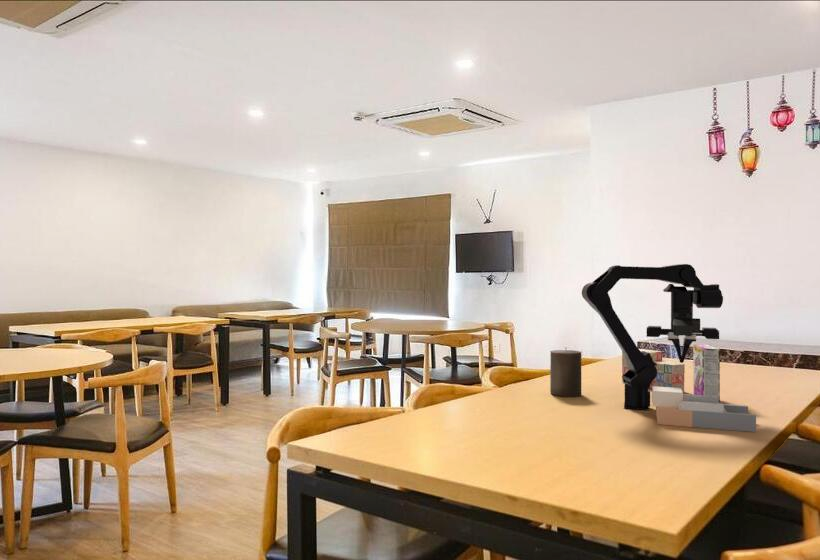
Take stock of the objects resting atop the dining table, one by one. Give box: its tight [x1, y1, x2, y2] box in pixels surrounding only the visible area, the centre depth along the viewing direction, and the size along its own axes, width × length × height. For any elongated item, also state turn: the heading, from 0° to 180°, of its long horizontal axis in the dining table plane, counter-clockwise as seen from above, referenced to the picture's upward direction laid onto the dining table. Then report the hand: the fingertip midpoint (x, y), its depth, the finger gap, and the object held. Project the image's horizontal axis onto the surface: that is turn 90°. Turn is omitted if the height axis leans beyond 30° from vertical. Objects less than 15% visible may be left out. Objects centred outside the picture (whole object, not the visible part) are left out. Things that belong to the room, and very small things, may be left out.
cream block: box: [651, 386, 684, 408], centre depth 157 cm, size 7×7×4 cm
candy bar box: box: [692, 344, 721, 404], centre depth 182 cm, size 11×5×16 cm, turn 168°
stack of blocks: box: [621, 348, 686, 393], centre depth 204 cm, size 21×6×12 cm, turn 25°
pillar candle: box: [549, 347, 582, 398], centre depth 191 cm, size 10×10×15 cm
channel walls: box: [679, 393, 724, 413], centre depth 155 cm, size 10×11×2 cm
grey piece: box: [655, 403, 757, 433], centre depth 154 cm, size 22×12×4 cm, turn 70°
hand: (681, 362), depth 171 cm, fingers closed
